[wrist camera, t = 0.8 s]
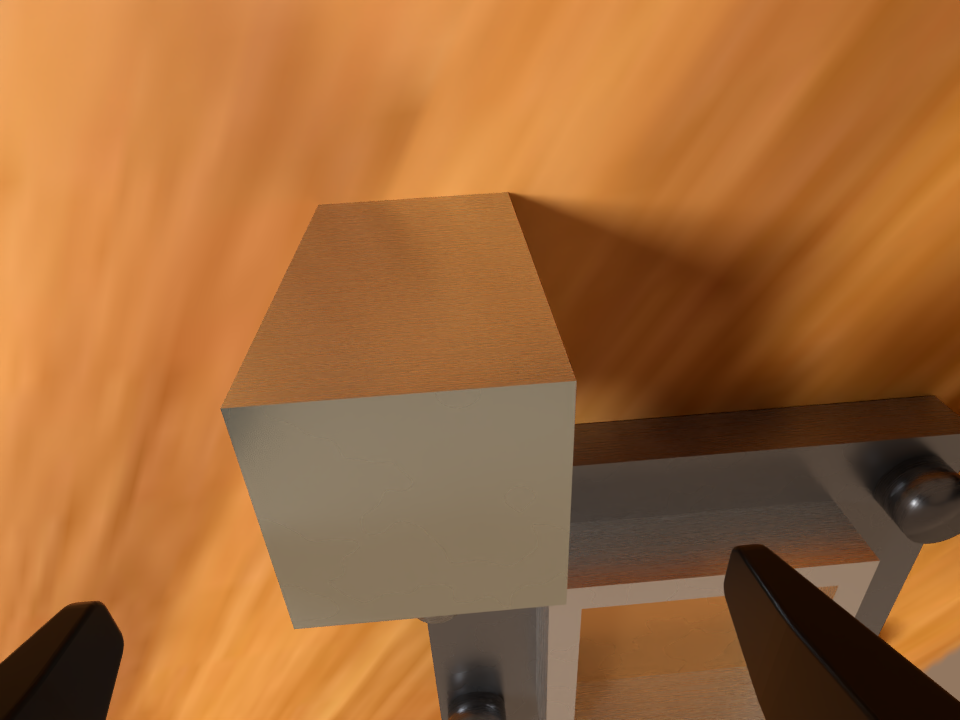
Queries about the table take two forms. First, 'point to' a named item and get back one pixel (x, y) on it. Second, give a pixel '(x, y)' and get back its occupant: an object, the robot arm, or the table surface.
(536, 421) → the brushed metal square peg
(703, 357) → the table surface
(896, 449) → the square hole base plate
